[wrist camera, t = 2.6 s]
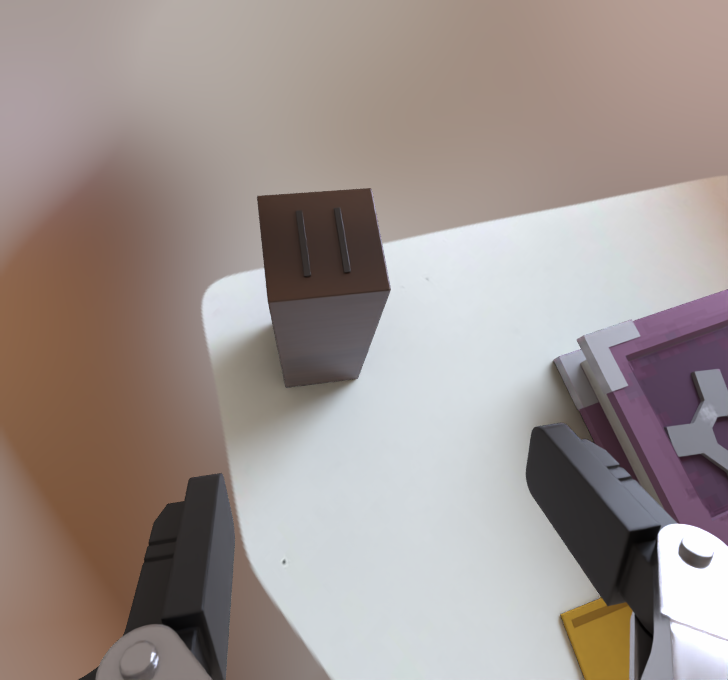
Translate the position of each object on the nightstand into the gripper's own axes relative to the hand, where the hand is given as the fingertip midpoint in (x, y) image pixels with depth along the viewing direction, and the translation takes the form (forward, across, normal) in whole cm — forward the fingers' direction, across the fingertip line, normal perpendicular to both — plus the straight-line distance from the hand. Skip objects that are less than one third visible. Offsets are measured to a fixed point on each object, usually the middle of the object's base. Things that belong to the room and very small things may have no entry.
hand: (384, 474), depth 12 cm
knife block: (+24, 0, +8) cm, 25 cm away
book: (+18, -32, +15) cm, 40 cm away
